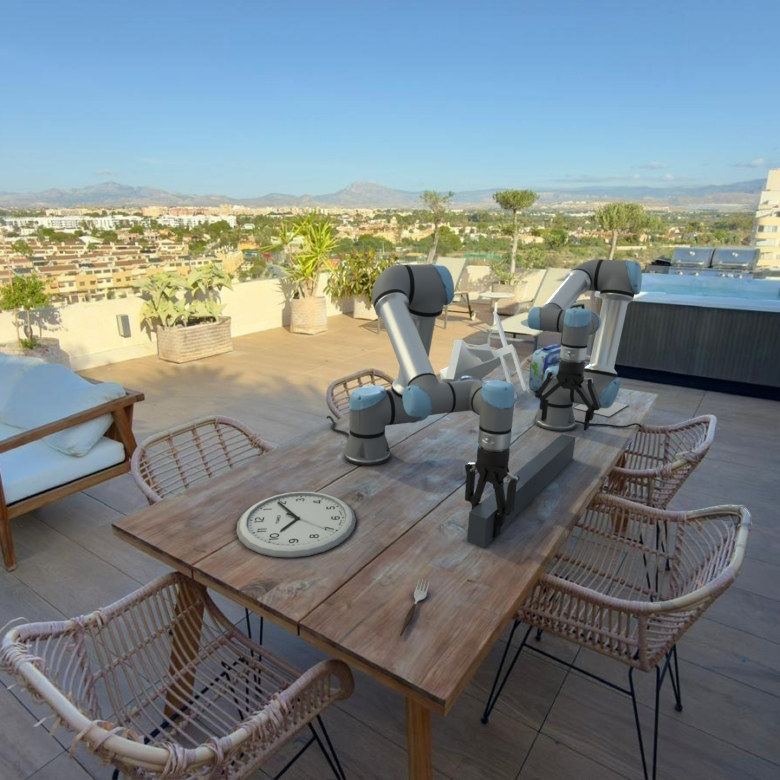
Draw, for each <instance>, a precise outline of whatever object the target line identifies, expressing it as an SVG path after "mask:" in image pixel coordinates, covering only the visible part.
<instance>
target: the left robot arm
mask: <svg viewBox="0 0 780 780" xmlns="http://www.w3.org/2000/svg"><path fill="white" fill-rule="evenodd" d="M454 296H455V283H454V279H453V276H452V272H450V270H449V268H447V266H445V265H443V264H435V263H434V264H433V263H424V264H423V263H422V264H421V263H420V264H418V263H417V264H400V263H399V264H393V265H391V266H389V267H386V269H384V270H383V271H382V272H381V273H380V274H379V275H378V276H377V278H376V279H375V281H374V283H373V287H372V292H371V301H372V305H373V309H374V311H375V314H376V315H377V316H378V317H379V318H381V320H382V323H383V325H384V328H385V330H386V333H387V337H388V339H389V341H390V345H391V346H392V349H393V353H394V354H395V357H396V360H397V362H398V365H399V368H398V374H397V378H395V379H393V381H392V383H391V388H390V389H386V388H385V387H384V386H382V385H379V384H376V385H374V384H370V385H363V386H359V387H358V388H355V389H354V390H353V391H351V392H350V395H349V401H348V410H349V413H348V414H349V417H348V419H349V423H348V424H349V432H347V431H346V430H342V429H337V428H335V427H334V426H335V425H336V422H335V420H334V418H333V417H332V416H331V415H327V416H326V417H325V418H326V419H330V421H331V423H332V424H331V426H330V429H331V430H332V431H333V432H337V433H340V434H343V435H345V436H347V437H348V438H347V441H346V444H345V447H344V450H343V451H344V453H343V457H344V459H345V461H347V462H348V463H349V464H353V465H357V466H362V467H363V466H364V467H371V466H377V465H381V464H385V463H386V462H388V461H389V460H390V458H391V449H392V447H391V446H392V445H391V444H390V445H389V443H388V440H387V436H386V426H394V425H402V424H403V425H404V424H413V423H414V424H415V423H418V422H422V421H424V420H426V419H428V417H429V416H435V415H442V414H453V413H460V412H461V413H463V412H469V411H470V412H473V413H475V414H476V415H478V416H479V421H478V423H479V424H478V439H477V443H478V445H477V449H476V461H475V462H473V461H468V462H467V463H466V464H465V465H464V469H465V473H466V475H465V477H466V478H465V491H464V501H466V502H469V503H470V504H471V510H473V509H474V508H475V507H476V506H477V505H478V504H480V503H481V502H482V496H483V493H484V490H485V488H486V485H487V483H490V484H491V485H492V488H493V489H494V490H493V491H495V496H496V503H497V510H498V512H497V513H496V514H495V518H494V529H493V538H494V539H495V540H496V539H497V538H498V537H500V535H501V533H502V531H501V527H502V526H503V525H504V523H505V516H506V515H507V516H509V515H510V514H511V513H512V512H513V511H514V505H515V495H516V485H517V483H518V481H519V479H520V477H519V476H518V475H516V476H514V473H512V472H510V468H509V463H510V453H511V452H510V451H511V449H510V447H511V441H512V427H513V420H514V412H515V411H514V410H515V404H516V399H515V397H514V395H515V391H516V388H515V385H514V384H513V385H514V386H513V385H512V384H511V383H509V382H507V381H504V380H500V379H490V380H486V381H484V380H482V381H481V380H480V379H478V378H476V377H472V376H462V377H461V378H459V379H457V380H456V381H455V382H439V379H438V378H437V375H436V373H435V370H434V368H433V365H432V363H431V360H430V352H431V347H432V342H433V335H434V331H435V325H436V319H437V318H439V317H441V316H442V315H443V310H444V306H448V305H451V303H452V302H453V300H454V298H455V297H454ZM476 471H477V473H478V475H479V476H478V480H477V485H476V486H475V484H476ZM505 478H506V479H507V480H506V481H507V483H508V488H507V498H506V500H505V494H504V487H503V485H504V482H505V481H504V479H505Z"/></svg>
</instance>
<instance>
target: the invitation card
mask: <svg viewBox="0 0 780 780" xmlns="http://www.w3.org/2000/svg"><path fill="white" fill-rule="evenodd" d="M628 406H629V404H627V403H623V402H618V401H614V403H613V404H612V405H611V407H609V408H600V409H599V410H594V414H596V415H600V416H604V417H608V418H609V417H611V416H613V415H614V414H616V413H617V412H619V411H621V410H623V409H624V408H626V407H628ZM573 409H575V410H581V411H584V412H586V410H587V409H588V408H587V406H586V405H583V404H578V405H575V406H574V407H573Z"/></svg>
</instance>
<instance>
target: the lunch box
mask: <svg viewBox="0 0 780 780" xmlns="http://www.w3.org/2000/svg"><path fill="white" fill-rule="evenodd" d="M560 352H561V344H551V345H547V346H545V347H541V348H539V349H536V350H534V352H533V353H532V355H531V358H530V359H531V360H530V366H529V377H528V379H529V380H528V387H529V390H531V391H536V392H538V390H539V389H540V387H541V386H542V384H543V382H544V380H543V379H544V375H545V371H546V369H548V368H550V367H553V366H559V360H560V359H562V358H561V357H560Z"/></svg>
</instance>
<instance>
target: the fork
mask: <svg viewBox="0 0 780 780" xmlns="http://www.w3.org/2000/svg"><path fill="white" fill-rule="evenodd" d="M420 580H421V577H419V578H418V581H417V585H416V587H415V590H414V592H413V598H414V600H415V601H414V603H413V604H412V606H411V607H410V609H409V611H408V612H407V613H406V616H405V619H404V622H403V624H402V625H403V626H402V628H401V631H400V634H399V636H400V637H402V635H403V634H404V632H405V631H406V629H407V627H408V626H409V624H410V622H411V621H412V619H413V617H414V614H415V610H416V607H417V604H418V602H420V601H423V600H425V599H426V598H427V596H428V591H429V586H430V582H431V581H430V580H431V579H428V583H427V578H426V579H425V580H424V578H422V580H421V583H420ZM423 582H424V584H423ZM426 583H427V586H426ZM419 584H420V585H419ZM422 587H423V588H422Z"/></svg>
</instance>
